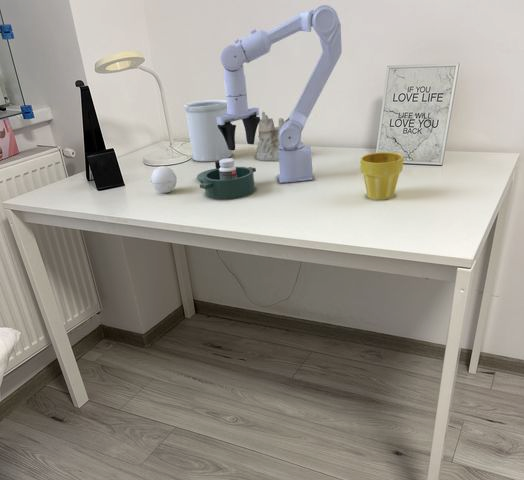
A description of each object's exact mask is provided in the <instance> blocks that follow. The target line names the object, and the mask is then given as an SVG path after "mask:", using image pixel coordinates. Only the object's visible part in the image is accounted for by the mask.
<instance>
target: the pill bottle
mask: <svg viewBox="0 0 524 480" xmlns="http://www.w3.org/2000/svg"><path fill="white" fill-rule="evenodd" d="M219 163H220V166H221V167H220V168H219V173H220V180H227V179H235V178H237V172H236V167H237V166H235V160H234V158H232V157H231V158H230V157H229V158H226V159H221V160H220V161H219Z"/></svg>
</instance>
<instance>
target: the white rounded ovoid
mask: <svg viewBox="0 0 524 480" xmlns="http://www.w3.org/2000/svg"><path fill="white" fill-rule="evenodd" d="M177 181H178V180H177V174H176V173H175V172H174V170H173V169H172V168H171V167H169V166H165V165H162V166H158V167H156V168H154V170H153V171H152V173H151V176H150V183H151V185H152V187H153V188H154V189H155V190H156V191H157V192H159V193H161V194H167V193H170V192H172V191H173V190H174V189H175V188H176V185H177Z"/></svg>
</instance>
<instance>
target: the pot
mask: <svg viewBox="0 0 524 480" xmlns="http://www.w3.org/2000/svg"><path fill="white" fill-rule="evenodd" d="M235 167H236V172H237V178H235V179H227V180H220V173H219V169H216V168H213V169H214V170H211V169H210V170H211V171H209V172H207V173H205V174H204V175H203V177H204V182H203V183H199V188H200V189H203V190H204V191H205V196H206V197H207V198H208V199H212V200H219V201H220V200H221V201H226V200H236V199H241V198H245V197H248V196H250V195H252V194H253V193H254V192H255V191H256V190H255V188H256V187H255V177H254V176H255V175H254V173H256V172H257V169H256V167H251V166H249V167H246V166H235Z"/></svg>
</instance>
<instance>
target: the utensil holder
mask: <svg viewBox="0 0 524 480" xmlns="http://www.w3.org/2000/svg"><path fill="white" fill-rule="evenodd" d="M183 110H184V112H185V116H186V123H187V130H188V136H189V144H190V148H191V154H192V159H193V160H194V161H196V162H215V161H218V160H221V159H226V158H230V157H232V155H233V153H232V152H233V150H229V149H228V146H227V144H226V141H225V139H224V136H223V135H222V133H221V131H220V130H219V128H218V125H217V118H216V117H219V116H222V115H224V114H226V112H228V110H227V101H226V99H205V100H198V101H191V102H187V103H185V104H184V105H183Z"/></svg>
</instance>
